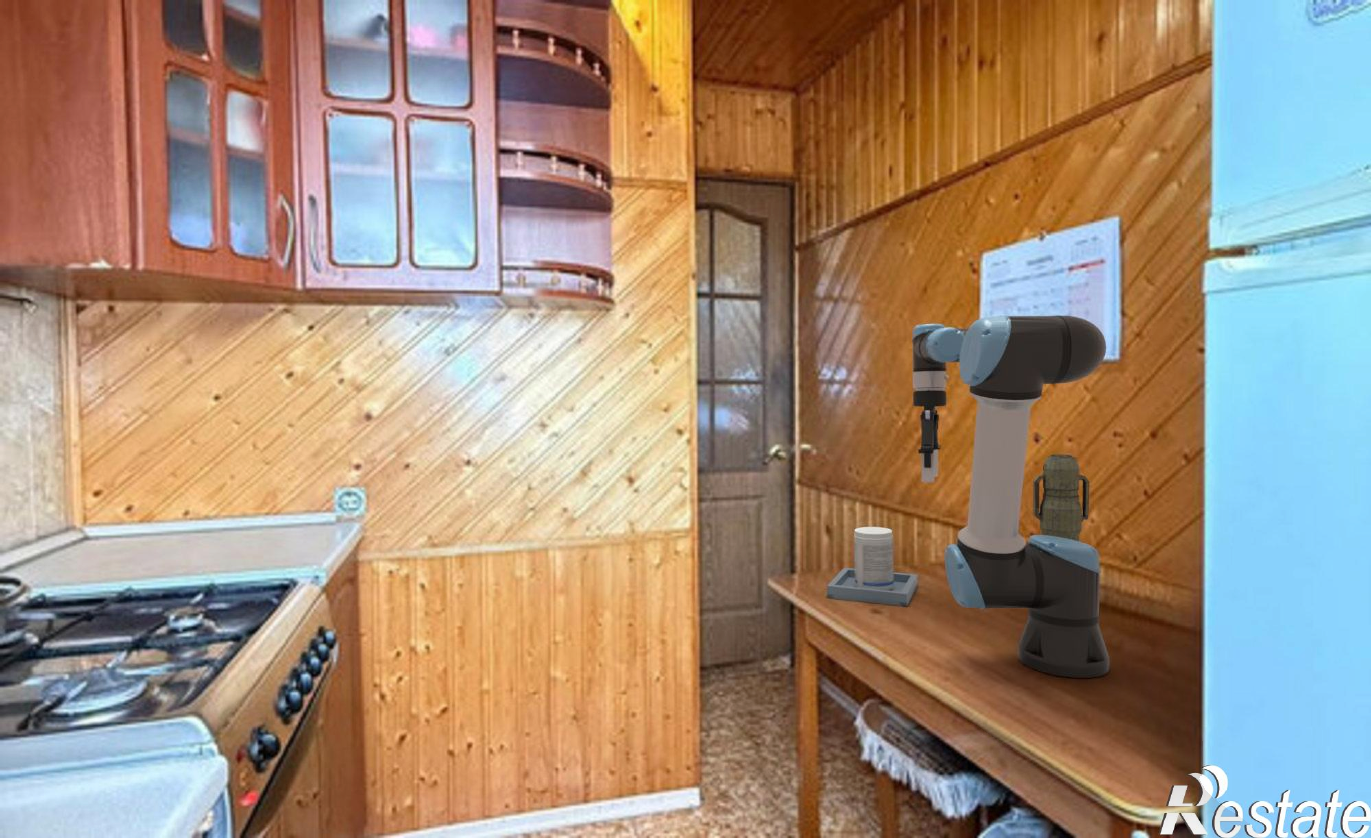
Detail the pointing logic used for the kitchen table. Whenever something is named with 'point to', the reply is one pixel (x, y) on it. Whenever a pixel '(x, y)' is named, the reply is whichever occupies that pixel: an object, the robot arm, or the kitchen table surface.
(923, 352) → the robot arm
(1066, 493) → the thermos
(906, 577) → the tray
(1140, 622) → the kitchen table surface
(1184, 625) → the kitchen table surface
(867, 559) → the supplement tub
